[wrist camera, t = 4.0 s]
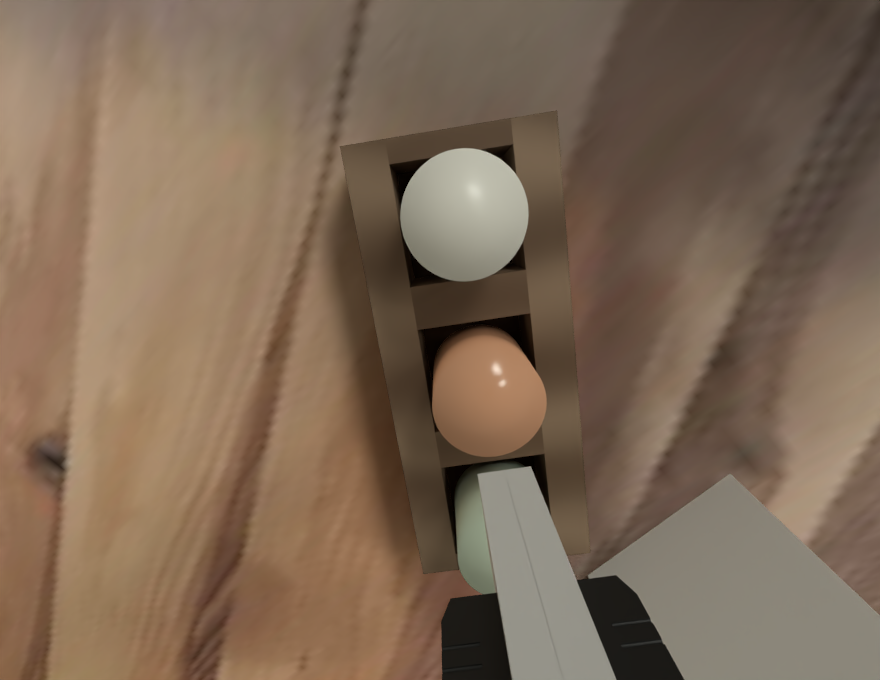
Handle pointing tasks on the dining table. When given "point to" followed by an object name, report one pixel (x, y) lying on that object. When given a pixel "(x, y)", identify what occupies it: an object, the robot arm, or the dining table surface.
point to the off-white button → (464, 214)
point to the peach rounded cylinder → (486, 392)
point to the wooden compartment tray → (454, 302)
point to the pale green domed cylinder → (475, 525)
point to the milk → (746, 596)
